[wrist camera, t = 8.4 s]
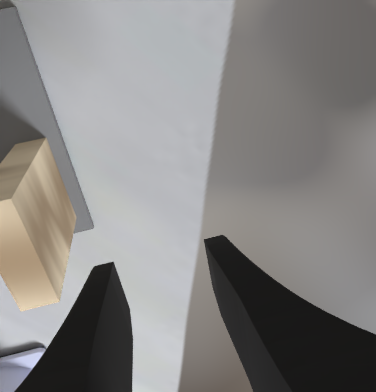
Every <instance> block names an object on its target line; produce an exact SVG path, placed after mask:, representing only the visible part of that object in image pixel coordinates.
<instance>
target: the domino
mask: <svg viewBox="0 0 376 392" xmlns="http://www.w3.org/2000/svg"><path fill="white" fill-rule="evenodd" d="M76 218H77V217H76V215H75V212H74V209H73V207H72V204H71V202H70V199H69V196H68V194H67V191H66V188H65V186H64V183H63V180H62V178H61V175H60V173H59V170H58V167H57V165H56V162H55V159H54V157H53V154H52V151H51V149H50V146H49V144H48V141H47V138H41V139H37V140H32V141H28V142H23V143H18V144H15V145H14V147H13V148H12V149H11V150H10V152H9V153H8V154H7V156H6V157H5V158H4V159H3V161H2V162H1V163H0V274H1V276H2V278H3V280H4V282H5V283H6V285H7V287H8V289H9V291H10V292H11V294H12V296H13V298H14V300H15V302H16V303H17V305H18V307H19V309H20V311H25V310H29V309H33V308H37V307H41V306H45V305H49V304H53V303H57V302H60V297H61V292H62V287H63V282H64V277H65V272H66V267H67V262H68V257H69V252H70V247H71V242H72V237H73V233H74V228H75V223H76Z"/></svg>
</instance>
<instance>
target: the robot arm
mask: <svg viewBox="0 0 376 392" xmlns="http://www.w3.org/2000/svg"><path fill="white" fill-rule="evenodd" d="M204 243H205V248H206V254H207V258H208V264H209V270H210V275H211V280H212V285H213V290H214V293H215V296H216V300H217V303H218V306H219V310H220V313H221V316H222V318H223V321H224V323H225V325H226V328H227V330H228V332H229V335H230V337H231V339H232V342H233V344H234V346H235V349H236V351H237V353H238V355H239V358H240V360H241V362H242V365H243V367H244V369H245V372H246V374H247V376H248V379H249V381H250V384H251V386H252V389H253V392H376V335H375V334H373V333H371V332H368V331H366V330H363V329H361V328H358V327H357V326H354V325H352V324H350V323H348V322H346V321H344V320H342V319H340V318H338V317H335V316H333V315H331V314H329V313H327V312H325V311H323V310H322V309H320V308H318V307H316V306H314V305H313V304H311V303H309V302H308V301H306V300H304V299H303V298H301V297H299V296H298V295H296V294H295V293H293V292H292V291H290V290H288V289H287V288H286V287H284V286H283V285H281V284H280V283H278V282H277V281H276V280H274V279H273V278H272V277H270V276H269V275H268V274H266V273H265V272H264V271H263V270H261V269H260V268H259V267H258V266H257V265H255V264H254V263H253V262H252V261H250V260H249V259H248V258H247V257H246V256H245V255H244V254H243V253H241V252H240V251H239V250H238V249H237V248H236V247H235V246H234V245H233V244H232V243H231V242H230V241H229V240H228V239H227V238H226V237H225V236H223V235H220V236H216V237H212V238H208V239H204ZM132 364H133V336H132V325H131V316H130V308H129V305H128V302H127V300H126V297H125V294H124V291H123V288H122V285H121V282H120V279H119V276H118V273H117V271H116V268H115V265H114V262H110V263H106V264H102V265H98V266H94V268H93V269H92V271H91V273H90V275H89V276H88V278H87V280H86V282H85V284H84V286H83V288H82V290H81V292H80V294H79V296H78V298H77V300H76V301H75V303H74V305H73V307H72V309H71V310H70V312H69V314H68V316H67V317H66V319H65V321H64V323H63V324H62V326H61V327H60V329H59V331H58V332H57V334H56V335H55V337H54V338H53V340H52V342H51V343H50V345H49V346H48V348H47V349H44V348H36V349H33V350H29V351H25V352H21V353H17V354H13V355H9V356H6V357H2V358H0V392H132Z"/></svg>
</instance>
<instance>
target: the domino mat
mask: <svg viewBox="0 0 376 392" xmlns="http://www.w3.org/2000/svg"><path fill="white" fill-rule="evenodd" d="M41 138H47V141H48V144H49V146H50V149H51V151H52V154H53V157H54V159H55V162H56V165H57V167H58V170H59V173H60V175H61V178H62V180H63V183H64V186H65V188H66V191H67V194H68V196H69V199H70V202H71V204H72V207H73V209H74V212H75V215H76V217H77V218H76V223H75V228H74V233H77V232H82V231H86V230H90V229H93V227H94V225H93V222H92V219H91V216H90V213H89V210H88V208H87V205H86V202H85V199H84V196H83V194H82V191H81V188H80V185H79V182H78V180H77V177H76V174H75V171H74V168H73V166H72V163H71V160H70V157H69V154H68V152H67V149H66V146H65V143H64V140H63V138H62V135H61V132H60V129H59V126H58V123H57V121H56V118H55V115H54V112H53V109H52V107H51V104H50V101H49V98H48V95H47V93H46V90H45V87H44V84H43V81H42V79H41V76H40V73H39V70H38V67H37V65H36V62H35V59H34V56H33V53H32V51H31V48H30V45H29V42H28V39H27V36H26V34H25V31H24V28H23V25H22V22H21V20H20V17H19V14H18V11H17V8H16V7H10V8H4V9H0V163H1V162H2V161H3V159H4V158H5V157H6V156H7V154H8V153H9V152H10V150H11V149H12V148H13V147H14V145H15V144H18V143H23V142H28V141H32V140H37V139H41Z"/></svg>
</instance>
